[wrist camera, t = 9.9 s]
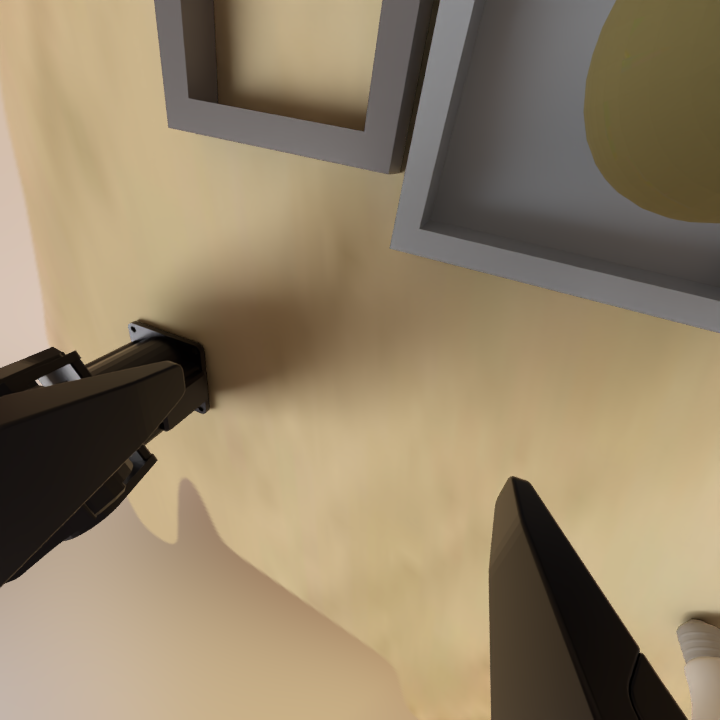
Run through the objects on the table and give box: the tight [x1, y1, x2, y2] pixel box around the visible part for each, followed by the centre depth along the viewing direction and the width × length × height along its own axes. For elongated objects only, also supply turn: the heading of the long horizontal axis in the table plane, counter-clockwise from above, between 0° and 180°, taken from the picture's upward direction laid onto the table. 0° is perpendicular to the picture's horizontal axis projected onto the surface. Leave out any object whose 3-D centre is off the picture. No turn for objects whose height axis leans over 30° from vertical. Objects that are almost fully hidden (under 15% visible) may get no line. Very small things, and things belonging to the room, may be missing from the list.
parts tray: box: [390, 0, 720, 333], centre depth 11 cm, size 14×12×4 cm
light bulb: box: [583, 0, 720, 223], centre depth 8 cm, size 6×6×10 cm
